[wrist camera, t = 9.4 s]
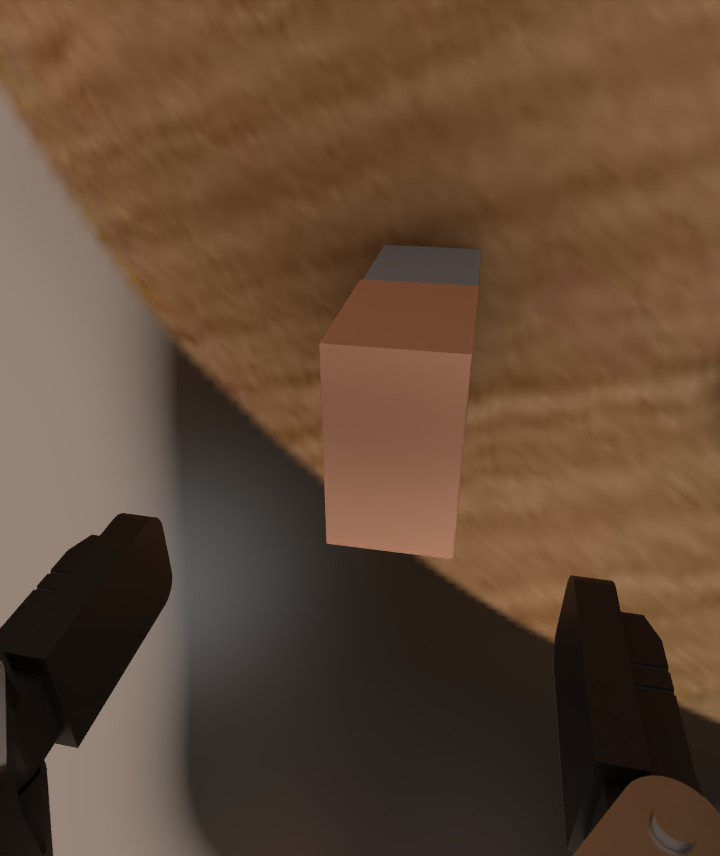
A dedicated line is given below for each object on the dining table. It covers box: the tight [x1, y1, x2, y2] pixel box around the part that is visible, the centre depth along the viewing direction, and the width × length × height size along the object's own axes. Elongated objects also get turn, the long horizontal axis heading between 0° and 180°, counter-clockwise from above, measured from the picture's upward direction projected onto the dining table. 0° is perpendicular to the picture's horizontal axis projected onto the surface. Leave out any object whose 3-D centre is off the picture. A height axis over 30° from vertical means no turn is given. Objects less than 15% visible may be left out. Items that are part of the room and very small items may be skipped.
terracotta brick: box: [319, 279, 479, 559], centre depth 18 cm, size 6×4×5 cm, turn 0°
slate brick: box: [363, 245, 481, 286], centre depth 23 cm, size 6×4×5 cm, turn 0°
